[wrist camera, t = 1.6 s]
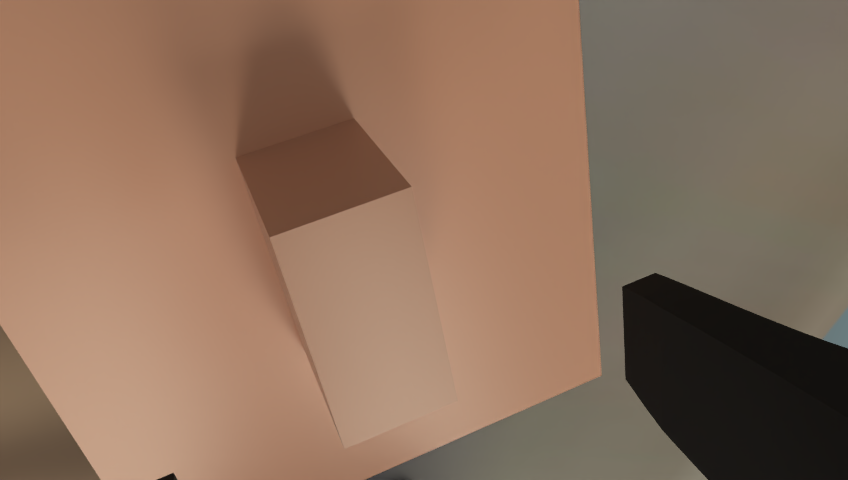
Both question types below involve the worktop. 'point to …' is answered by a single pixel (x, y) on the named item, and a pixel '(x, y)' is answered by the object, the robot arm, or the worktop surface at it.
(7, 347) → the cutting board
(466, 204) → the lid
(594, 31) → the worktop surface
